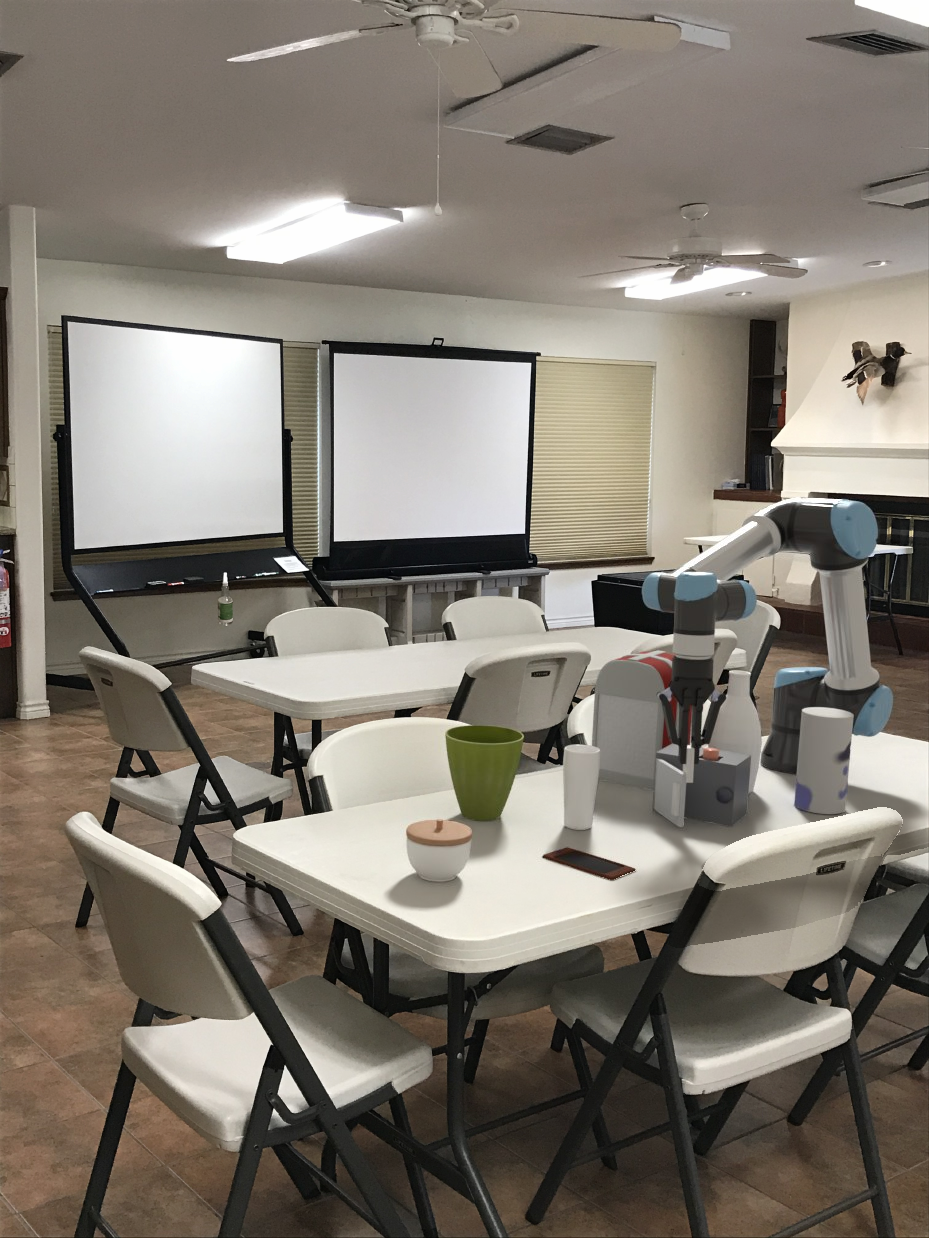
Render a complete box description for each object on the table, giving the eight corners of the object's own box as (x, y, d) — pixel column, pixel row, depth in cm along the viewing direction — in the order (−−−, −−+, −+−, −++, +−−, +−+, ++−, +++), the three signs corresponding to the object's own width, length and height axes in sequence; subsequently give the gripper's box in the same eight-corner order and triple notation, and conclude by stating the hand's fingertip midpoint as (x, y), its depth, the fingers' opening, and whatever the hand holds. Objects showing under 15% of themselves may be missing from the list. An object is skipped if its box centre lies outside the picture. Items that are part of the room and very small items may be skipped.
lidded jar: (403, 863, 199) (405, 809, 198) (467, 864, 200) (469, 810, 199) (405, 886, 188) (407, 829, 187) (473, 887, 189) (475, 830, 188)
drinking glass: (599, 824, 225) (604, 746, 223) (591, 834, 219) (596, 754, 217) (564, 819, 227) (569, 742, 225) (555, 829, 221) (560, 750, 219)
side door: (657, 807, 234) (660, 758, 233) (683, 826, 223) (687, 774, 221) (648, 808, 234) (651, 758, 232) (674, 826, 222) (678, 774, 221)
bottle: (700, 792, 250) (708, 673, 247) (709, 779, 261) (718, 665, 257) (753, 799, 246) (763, 679, 243) (761, 786, 257) (770, 670, 253)
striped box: (690, 774, 264) (698, 654, 261) (658, 791, 250) (666, 664, 246) (622, 761, 273) (629, 645, 270) (587, 777, 258) (594, 654, 255)
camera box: (669, 800, 243) (673, 742, 242) (746, 814, 236) (751, 755, 234) (650, 812, 234) (654, 753, 232) (730, 828, 226) (734, 766, 225)
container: (847, 817, 237) (856, 718, 234) (795, 812, 239) (803, 714, 236) (842, 803, 246) (850, 708, 244) (792, 798, 248) (800, 704, 246)
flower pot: (505, 832, 218) (509, 747, 216) (430, 820, 223) (433, 737, 221) (529, 810, 232) (533, 730, 230) (458, 800, 237) (461, 721, 235)
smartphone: (566, 845, 210) (637, 867, 200) (566, 851, 210) (636, 873, 200) (541, 854, 205) (612, 877, 195) (540, 859, 205) (612, 882, 195)
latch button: (705, 759, 233) (706, 747, 233) (720, 761, 232) (721, 749, 231) (700, 762, 231) (701, 749, 230) (715, 765, 229) (716, 752, 229)
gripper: (721, 653, 224) (715, 775, 227) (654, 652, 223) (649, 775, 226) (733, 659, 217) (727, 785, 219) (663, 658, 216) (658, 785, 218)
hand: (687, 780), depth 223 cm, fingers closed
